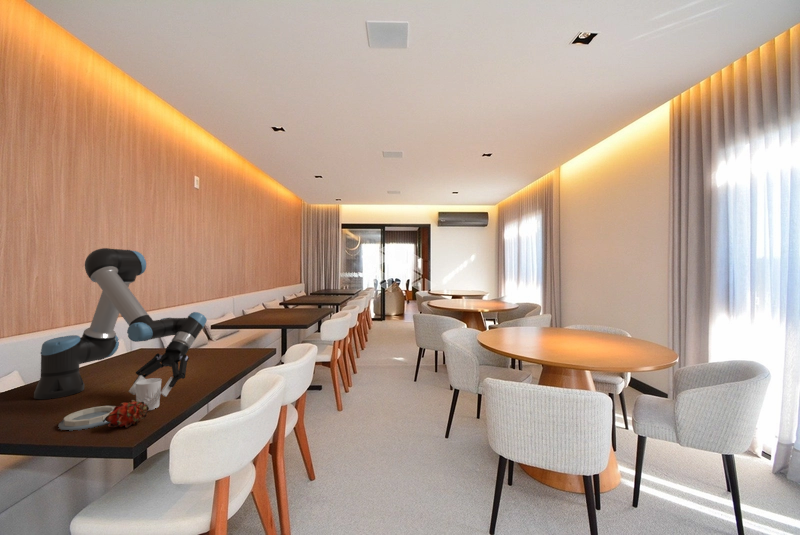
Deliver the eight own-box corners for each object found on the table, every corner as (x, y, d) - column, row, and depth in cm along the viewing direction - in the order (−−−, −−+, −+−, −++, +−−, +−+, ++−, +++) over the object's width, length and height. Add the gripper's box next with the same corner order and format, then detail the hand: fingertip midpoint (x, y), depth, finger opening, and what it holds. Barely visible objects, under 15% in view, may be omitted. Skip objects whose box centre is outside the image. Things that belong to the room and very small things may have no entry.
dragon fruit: (152, 424, 117) (106, 441, 108) (146, 405, 121) (102, 420, 113) (151, 409, 113) (104, 426, 104) (145, 390, 117) (99, 404, 109)
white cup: (147, 412, 123) (147, 384, 123) (129, 411, 125) (129, 383, 125) (166, 404, 131) (166, 378, 131) (149, 403, 132) (149, 377, 133)
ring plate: (44, 429, 110) (44, 421, 110) (96, 410, 126) (96, 403, 126) (85, 432, 107) (85, 424, 107) (133, 412, 123) (133, 405, 123)
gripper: (211, 351, 143) (182, 400, 127) (159, 349, 147) (125, 396, 132) (201, 340, 138) (170, 390, 122) (148, 339, 142) (111, 387, 126)
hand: (147, 394), depth 127 cm, fingers open, 13 cm apart
